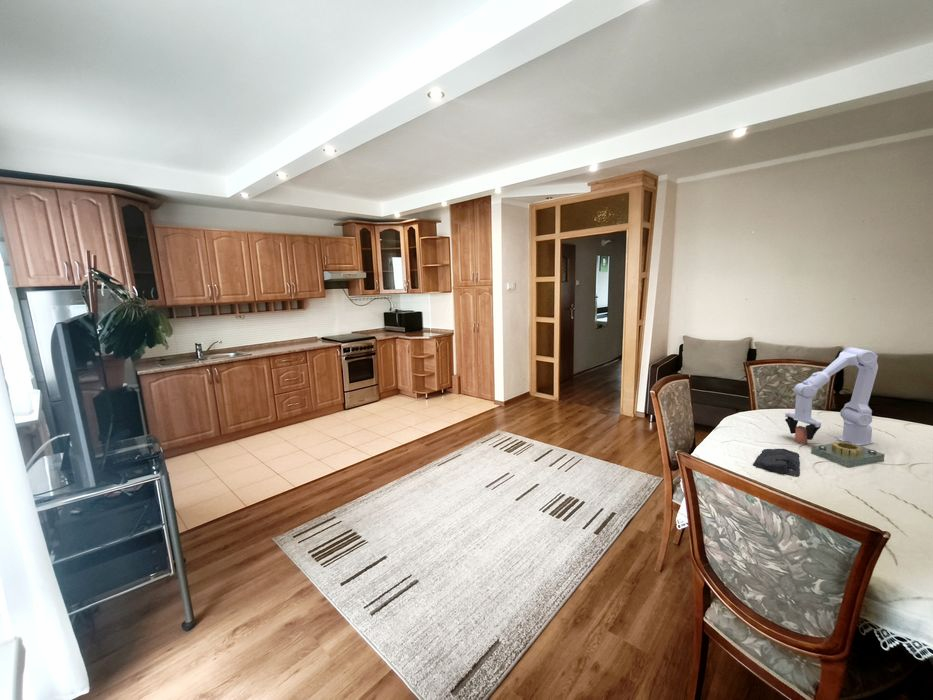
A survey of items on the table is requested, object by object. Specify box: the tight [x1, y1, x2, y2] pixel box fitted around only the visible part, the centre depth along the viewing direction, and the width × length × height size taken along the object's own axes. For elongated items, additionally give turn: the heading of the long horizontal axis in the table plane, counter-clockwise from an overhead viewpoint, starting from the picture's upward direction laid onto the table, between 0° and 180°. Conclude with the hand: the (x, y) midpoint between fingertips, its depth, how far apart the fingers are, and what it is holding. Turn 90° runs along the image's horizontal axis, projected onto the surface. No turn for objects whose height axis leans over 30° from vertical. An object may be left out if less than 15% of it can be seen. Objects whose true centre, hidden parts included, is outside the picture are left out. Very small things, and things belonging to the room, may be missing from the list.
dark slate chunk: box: [752, 448, 801, 477], centre depth 158 cm, size 15×22×5 cm
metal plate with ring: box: [810, 441, 885, 469], centre depth 158 cm, size 18×14×5 cm
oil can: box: [794, 425, 809, 445], centre depth 174 cm, size 4×4×8 cm
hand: (801, 436), depth 174 cm, fingers open, 7 cm apart
